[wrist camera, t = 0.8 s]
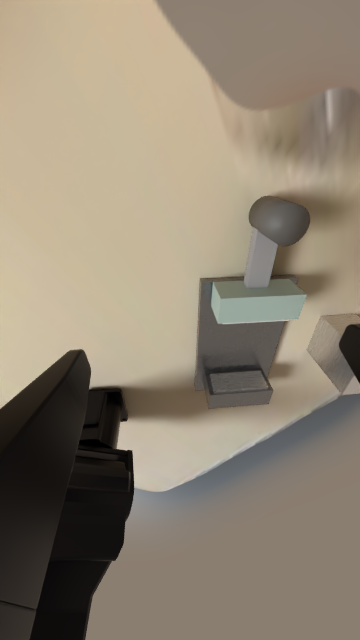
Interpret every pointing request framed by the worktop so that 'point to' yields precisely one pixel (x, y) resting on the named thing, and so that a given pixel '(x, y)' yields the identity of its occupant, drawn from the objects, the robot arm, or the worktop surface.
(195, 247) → the worktop surface
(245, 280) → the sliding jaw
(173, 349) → the worktop surface
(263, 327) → the base
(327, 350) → the steel block
